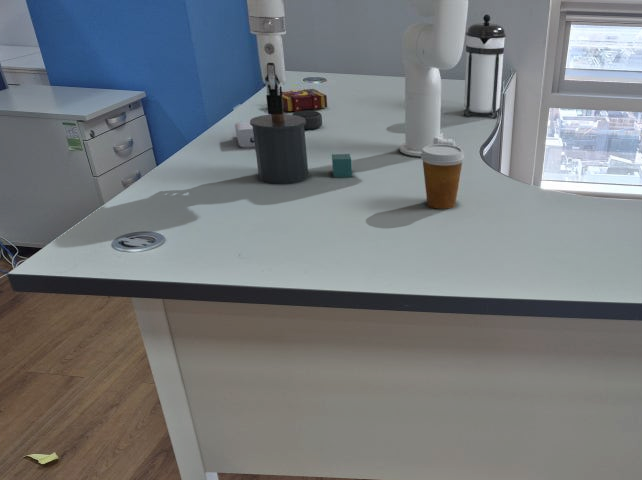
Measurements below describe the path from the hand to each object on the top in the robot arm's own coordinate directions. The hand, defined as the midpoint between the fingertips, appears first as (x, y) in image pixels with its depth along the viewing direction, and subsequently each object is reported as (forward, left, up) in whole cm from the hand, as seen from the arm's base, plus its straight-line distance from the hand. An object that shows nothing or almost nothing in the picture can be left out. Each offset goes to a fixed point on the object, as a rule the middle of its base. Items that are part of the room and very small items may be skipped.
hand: (275, 109), depth 149 cm
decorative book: (+27, -70, -16) cm, 77 cm away
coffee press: (-33, -86, -16) cm, 93 cm away
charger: (+22, -28, -16) cm, 39 cm away
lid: (0, 0, -3) cm, 3 cm away
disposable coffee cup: (-41, +7, -16) cm, 45 cm away
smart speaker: (+14, -47, -16) cm, 52 cm away
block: (-13, -6, -16) cm, 21 cm away
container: (0, 0, -16) cm, 16 cm away
